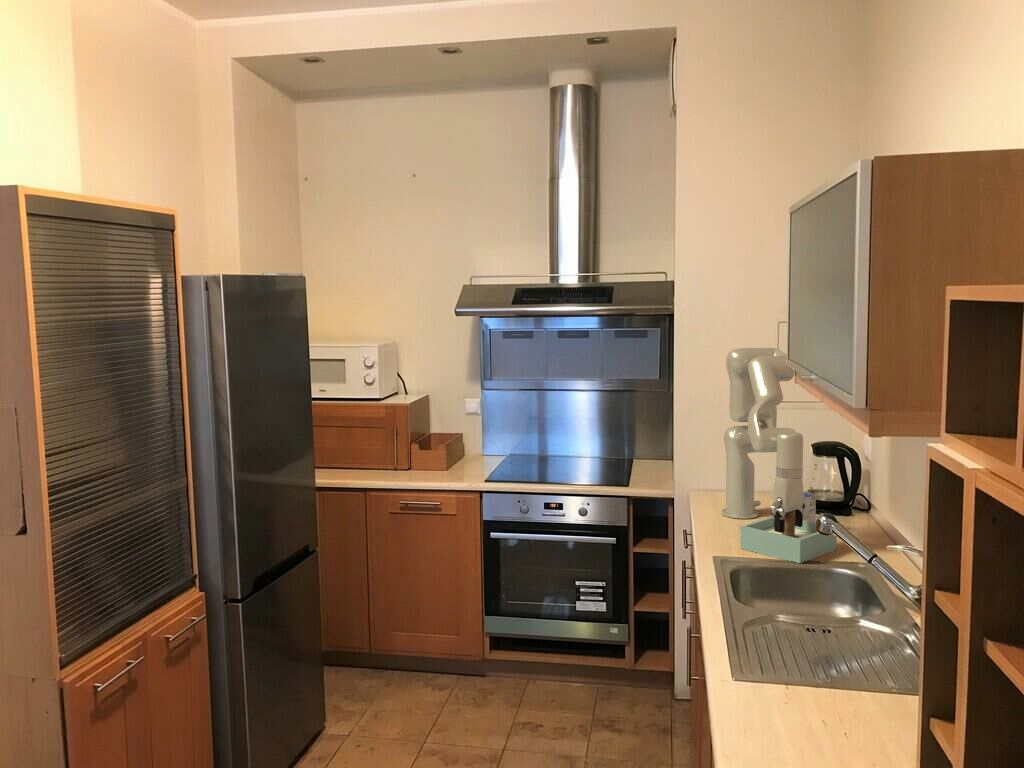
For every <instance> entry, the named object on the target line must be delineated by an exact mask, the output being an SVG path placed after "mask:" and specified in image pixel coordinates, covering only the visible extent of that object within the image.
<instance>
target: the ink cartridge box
mask: <svg viewBox="0 0 1024 768" xmlns="http://www.w3.org/2000/svg"><path fill="white" fill-rule="evenodd" d="M803 496H804V497H806V502H805V507H804V509H803V510H804V513H803V520H805V521H810V522H814V523H817V521H816V520H817V517H816V514H817V508H816V504H817V503H816V501H817V500H816V499H817V498H816V497H817V495H816V494H815V493H810V492H805V491H803Z"/></svg>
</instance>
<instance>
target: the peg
mask: <svg viewBox="0 0 1024 768" xmlns="http://www.w3.org/2000/svg"><path fill="white" fill-rule="evenodd" d="M783 520H785V532H784V533H782V535H785V536H790V537H794V538H795V510H794V511H791V512H787V513H786V514H785V516H784V518H783Z"/></svg>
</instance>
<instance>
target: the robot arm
mask: <svg viewBox="0 0 1024 768" xmlns="http://www.w3.org/2000/svg"><path fill="white" fill-rule="evenodd" d="M787 355H788V354H786V353H785V352H783V351H782V350H781V349H778V348H775V347H741V348H740V347H739V348H735V349H731V350H730V351H729V352H728V353H727V355H726V359H725V367H726V372H727V375H728V378H729V407H728V409H729V417H730V419H731V420H732V421H733V422H737V423H747V425H733V426H729V427H728V428H727V429H726V430H725V431H724V434H723V442H724V448H725V449H724V450H725V458H726V459H725V460H726V461H725V462H726V464H725V465H726V468H725V469H726V470H725V471H726V472H725V474H726V476H725V477H726V478H725V479H726V480H725V481H726V482H725V484H726V487H725V489H726V490H725V495H726V496H725V500H726V501H725V508H723V509H721V515H722V516H724V517H726V518H730V519H731V518H732V519H738V518H739V520H740V519H741V520H744V519H745V520H748V519H749V520H750V519H755V518H758V517H759V511H758V510H756V507H759V506H761V504H762V503H761V501H760V499H759V500H755V464H754V462H753V460H752V459H751V458H750V456H749V455H748V454H751V453H754V454H755V453H761V454H763V453H764V454H765V453H776V462H775V463H776V464H775V465H776V466H775V468H776V469H775V470H776V474H775V475H776V476H775V479H774V484H773V491H772V504H771V506H770V510H771V515H772V517H773V518H774V531H776V532H780V533H784V532H785V520H783V518H784V516H785V514H786V513H787V512H791V511H794V510H795V526H798V527H802V526H803V513H804V510H803V509H804V507H805V502H806V497H804V496H803V492H804V485H803V484H804V481H803V475H804V474H803V471H804V470H803V469H804V465H803V464H804V436H803V434H802V433H800V432H797V431H796V429H794V428H791V427H777V418H778V408H777V406H779V405H780V404H781V403H782V402H783V399H784V395H783V391H782V387H781V384H780V382H790V381H791V380H792V379H793V378H794V376H795V374H796V373H795V371H796V370H795V371H794V370H793V369H792V368H791V367H789V366H788V365H787V364H786V360H787Z"/></svg>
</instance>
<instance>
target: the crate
mask: <svg viewBox="0 0 1024 768" xmlns="http://www.w3.org/2000/svg"><path fill="white" fill-rule="evenodd" d="M816 523H817V522H816ZM816 523H814V522H810V521H805V520H803V526H802V527H798V526H795V538H794V537H790V536H785V535H782V533H780V532H776V531H774V518H773V516H769V517H766V518H763V519H759V520H757V521H752V522H751V523H747V524H743V525H740V538H739V539H740V543H739V547H740V548H739V549H740V550H743V549H744V551H747V550H748V552H751V551H753V552H752V553H755V552H757V553H756V554H759V553H761V554H760V555H763V554H765V555H764V556H767V555H769V556H768V557H771V556H773V557H772V558H775V557H776V559H778V558H780V559H779V560H782V559H785V560H784V561H786V560H789V561H788V562H790V561H794V562H797V563H796V564H798V563H801V562H804V561H806V562H808V561H807V560H809V561H811V560H814V559H817V558H819V557H821V555H822V556H824V555H827V554H829V553H828V552H830V553H832V552H834V550H835V551H836V550H837V542H838V541H837V536H838V535H837V536H835V535H833V534H831V535H828V536H825V535H822V534H820V533H819V532H817V530H816ZM831 551H832V552H831ZM826 553H827V554H826ZM823 554H824V555H823ZM818 556H819V557H818ZM816 557H817V558H816ZM813 558H814V559H813ZM794 562H793V563H794ZM804 563H805V562H804ZM801 564H802V563H801Z"/></svg>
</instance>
